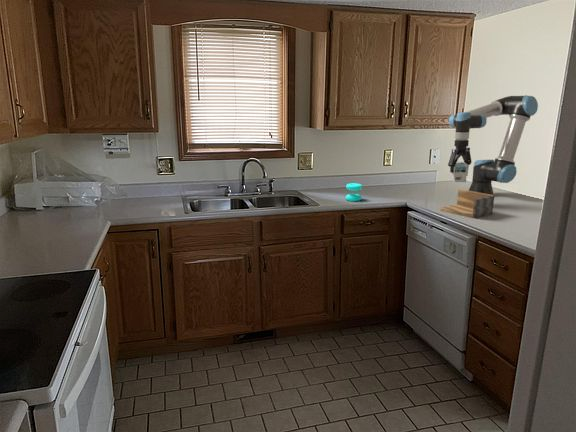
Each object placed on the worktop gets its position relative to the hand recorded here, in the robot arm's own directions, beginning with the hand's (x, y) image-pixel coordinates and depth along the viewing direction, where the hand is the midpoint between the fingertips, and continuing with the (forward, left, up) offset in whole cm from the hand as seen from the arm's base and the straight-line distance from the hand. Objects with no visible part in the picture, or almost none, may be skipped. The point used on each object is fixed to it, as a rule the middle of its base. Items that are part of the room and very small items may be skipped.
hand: (458, 176), depth 261 cm
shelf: (+13, +16, -17) cm, 27 cm away
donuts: (+42, -44, -17) cm, 63 cm away
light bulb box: (0, 0, -3) cm, 3 cm away
